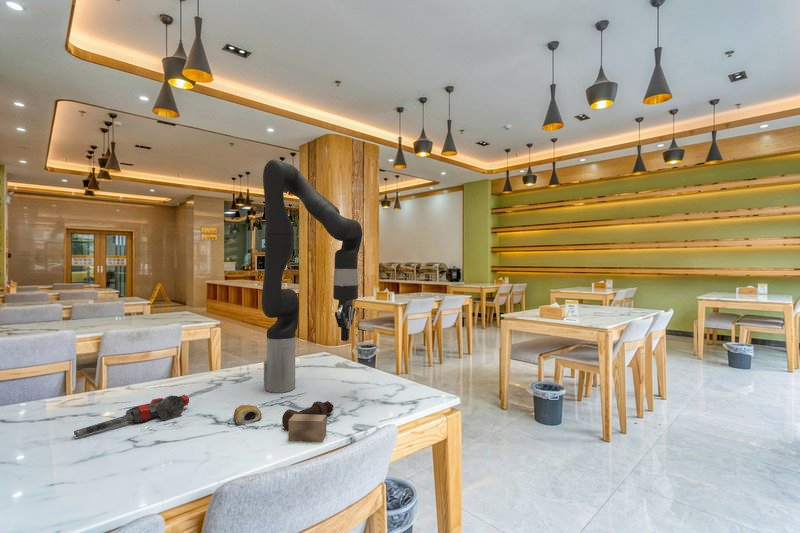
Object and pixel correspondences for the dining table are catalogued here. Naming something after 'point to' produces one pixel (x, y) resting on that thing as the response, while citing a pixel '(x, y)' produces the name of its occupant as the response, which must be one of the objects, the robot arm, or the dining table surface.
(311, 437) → the brown wooden block
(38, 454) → the dining table surface
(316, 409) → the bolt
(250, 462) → the dining table surface
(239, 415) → the pastry
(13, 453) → the dining table surface
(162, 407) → the dark long red-banded part
